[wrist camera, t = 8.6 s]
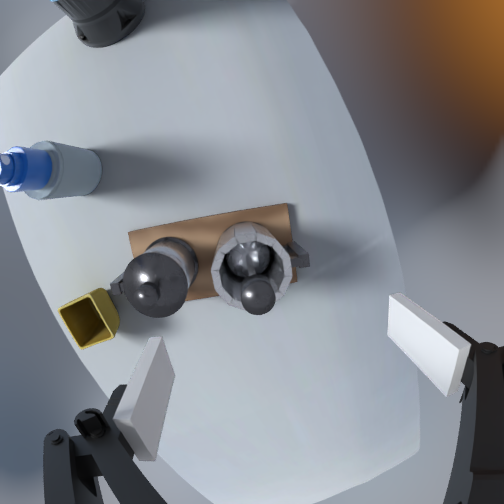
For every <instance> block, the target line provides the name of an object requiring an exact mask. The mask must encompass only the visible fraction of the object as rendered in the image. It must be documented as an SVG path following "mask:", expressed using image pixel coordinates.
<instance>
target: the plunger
mask: <svg viewBox="0 0 504 504" xmlns="http://www.w3.org/2000/svg"><path fill="white" fill-rule="evenodd" d="M269 258H270V255H269V250H268V247H267V245H266V244H263V243H261V242H258V241H251V242H245V243H239V244H237V245H236V246H235V247H234V248H232V249H231V250H230V251H229V252H227V263H228V266H229V267H230V269H231V270H232V271H233V272H234V273H235V274H237V275H239V276H241V277H246V278H245V279H244V280H243V282H242V284H241V287H240V292H241V302H242V305H243V307H244V309H245V310H246V311H247V312H249V313H251V314H254V315H262V314H265V313H267V312H269V311H270V310H271V309H272V308H273V306H274V304H275V301H276V296H275V293H274V290H273V288H272V285H271V283H270V281H269V280H268V279H267V278H266V277H265V276H263V275H260V273H262V272H263V271H264V270H265V269H266V267H267V265H268V263H269Z"/></svg>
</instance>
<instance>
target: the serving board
mask: <svg viewBox="0 0 504 504" xmlns="http://www.w3.org/2000/svg"><path fill="white" fill-rule="evenodd" d="M244 221H251V222H255V223H258V224H261V225H263V226H264V227H266V228H267V229H268V230H269V231H270V232H271V233H272V235H273V236H274V237H275V238H276V240H277V241H278V242H279V243H280V244H281V245H286V243H288V242H292V235H291V228H290V221H289V214H288V207H287V203H283V204H277V205H270V206H264V207H258V208H252V209H246V210H240V211H234V212H228V213H222V214H217V215H211V216H206V217H200V218H195V219H189V220H184V221H179V222H174V223H169V224H164V225H159V226H154V227H149V228H144V229H139V230H135V231H130V232H128V235H129V240H130V244H131V249H132V253H133V257H134V258H136V257H137V256H139V255H141V254H143V253H144V252H145V250H146V249H147V247H148V246H149V245H150V244H151V243H153V242H154V241H155V240H157V239H159V238H162V237H168V236H169V237H177V238H180V239H182V240H184V241H186V242H187V243H188V244H189V245H190V246H191V247H192V248H193V249H194V251H195V253H196V255H197V258H198V263H199V268H198V274H197V276H196V279H195V281H194V282H193V284H192V285H191V286H190V287H189V288H188V293H187V297H186V299H185V301H188V300H195V299H201V298H208V297H214V296H220V295H219V294H218V293H217V292H216V291H215V288H214V283H213V278H212V274H211V267H212V263H213V259H214V255H215V251H216V248H217V243H218V240H219V238H220V236H221V235H222V233H223V232H224V231H225V230H226V229H227V228H228V227H230V226H232V225H233V224H236V223H239V222H244ZM294 282H297V274H296V267H292V279H291V281H290V283H294Z"/></svg>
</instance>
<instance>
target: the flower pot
mask: <svg viewBox="0 0 504 504" xmlns="http://www.w3.org/2000/svg"><path fill="white" fill-rule="evenodd" d="M95 307H96V308H95ZM58 312H59V314H60V316H61V318H62V320H63V321H64V323H65V325H66V327H67V328H68V330H69V332H70V333H71V335H72V337H73V339H74V340H75V342H76V344H77V345H78V347H79V348H80V349H85V348H88V347H90V346H93V345H95V344H98V343H101V342H104V341H107V340H110V339H113V338H114V337H115V334H116V332H117V329H118V327H119V324H120V319H119V315H118V312H117V310H116V308H115V306H114V304H113V303H112V301H111V299H110V297H109V295H108V293H107V291H106V290H105V289H103V288H98V289H96V290H94V291H92V292H90V293H88V294H86V295H84V296H81V297H79V298H77V299H75V300H73V301H71V302H69V303H67V304H65V305H63V306H61V307H60V308H58Z"/></svg>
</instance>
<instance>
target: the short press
mask: <svg viewBox="0 0 504 504" xmlns="http://www.w3.org/2000/svg"><path fill="white" fill-rule="evenodd" d="M198 268H199V263H198V258H197V255H196V253H195V251H194V249H193V248H192V247H191V246H190V245H189V244H188V243H187V242H186V241H184V240H182V239H180V238H177V237H169V236H168V237H162V238H159V239H157V240H155V241H154V242H153V243H151V244H150V245H149V246H148V247H147V249H146V250H145V252H144V253H143V254H141V255H139V256H137V257H136V258H134V259H133V260H132V261H131V262H130V263H129V264H128V266H127V267H126V270H125V272H123V273H122V274H121V275H120V276H119V277H118V278H116V279H115V280H114V281H113V282H112V283H110V286H111V289H112V293H113V295H118V294H122V293H123V292H125V295H126V297H127V299H128V301H129V302H130V303H131V305H132V306H133V307H134V308H135V309H136V310H138V311H139V312H141V313H142V314H145V315H147V316H150V317H157V318H160V317H167V316H170V315H172V314H174V313H175V312H177V311H178V310H179V309H180V308H181V307H182V305H183V304H184V302H185V299H186V297H187V293H188V288H189V287H190V286H191V285H192V284H193V282H194V281H195V279H196V276H197V274H198Z"/></svg>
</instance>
